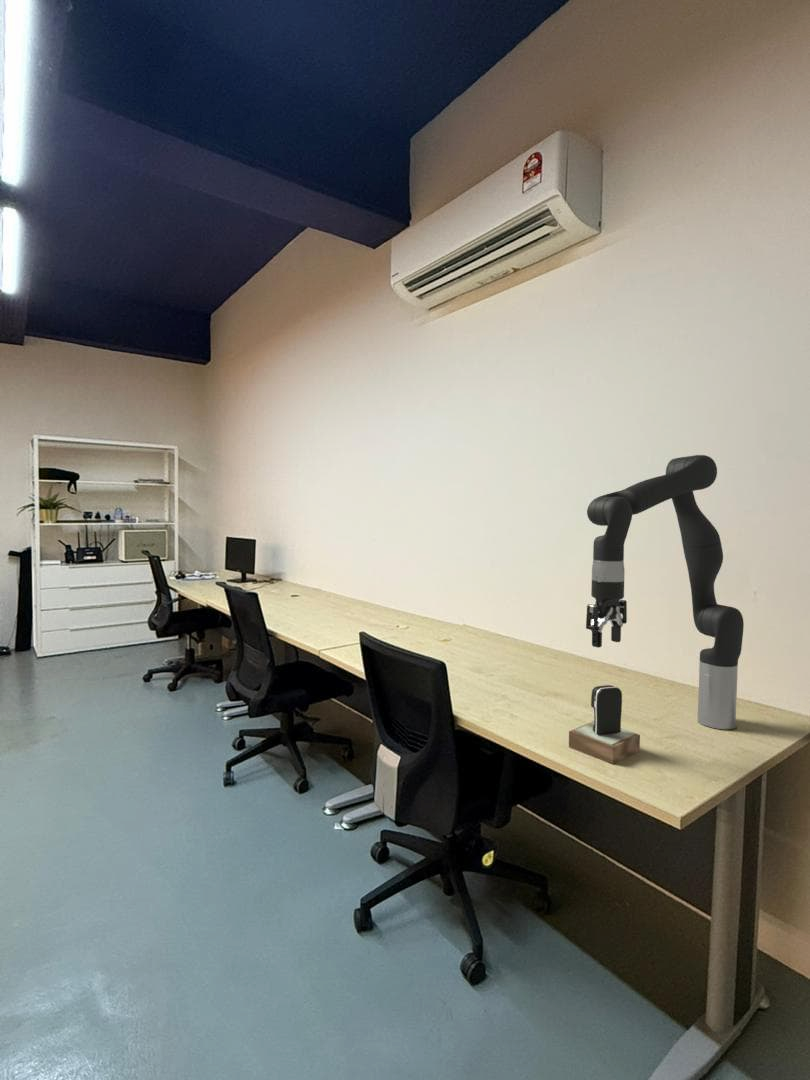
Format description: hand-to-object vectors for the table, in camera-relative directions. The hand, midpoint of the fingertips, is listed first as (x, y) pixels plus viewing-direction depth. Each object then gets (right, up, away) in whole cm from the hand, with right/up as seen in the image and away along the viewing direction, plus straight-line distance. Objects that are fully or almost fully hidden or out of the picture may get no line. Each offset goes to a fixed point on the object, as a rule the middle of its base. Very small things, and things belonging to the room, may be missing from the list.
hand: (606, 644), depth 136 cm
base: (0, -26, +1) cm, 26 cm away
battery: (0, -22, +1) cm, 22 cm away
